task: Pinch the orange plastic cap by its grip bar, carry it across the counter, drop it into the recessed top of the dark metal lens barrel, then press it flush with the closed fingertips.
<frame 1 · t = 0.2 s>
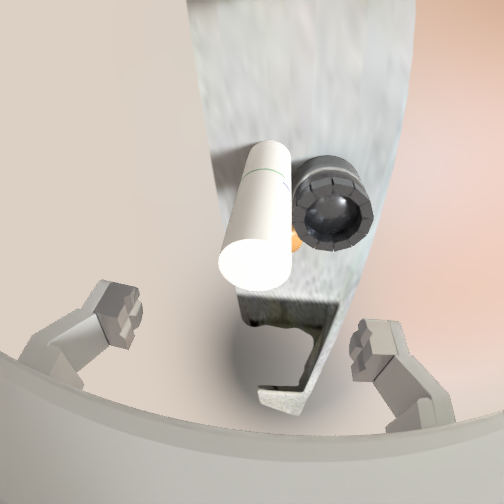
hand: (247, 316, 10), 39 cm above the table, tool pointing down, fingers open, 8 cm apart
cap: (285, 234, 57), on the table
cylindrical container: (269, 159, 47), on the table
barrel: (326, 186, 49), on the table
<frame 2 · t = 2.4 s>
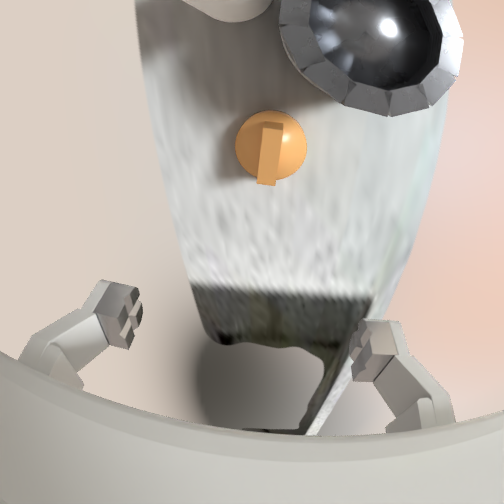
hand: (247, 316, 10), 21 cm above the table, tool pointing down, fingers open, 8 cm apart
cap: (271, 142, 27), on the table
barrel: (347, 36, 20), on the table
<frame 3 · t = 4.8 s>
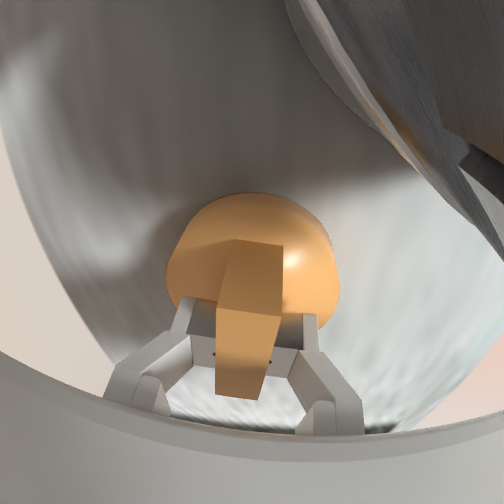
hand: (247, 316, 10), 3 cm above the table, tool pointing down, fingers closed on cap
cap: (255, 263, 13), on the table, touching gripper
barrel: (451, 10, 5), on the table
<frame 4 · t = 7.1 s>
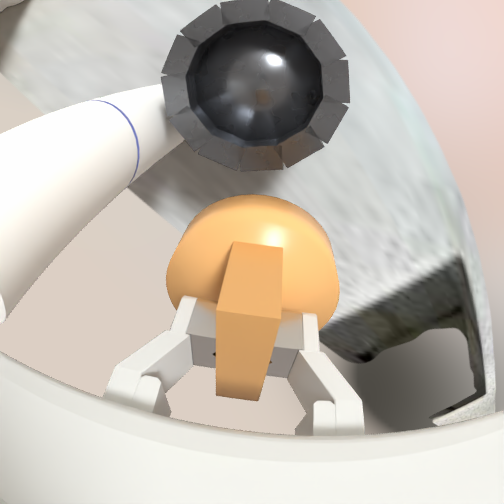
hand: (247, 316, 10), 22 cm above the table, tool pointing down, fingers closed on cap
cap: (255, 265, 13), point 19 cm above the table, touching gripper
cylindrical container: (163, 116, 27), on the table
barrel: (264, 80, 24), on the table
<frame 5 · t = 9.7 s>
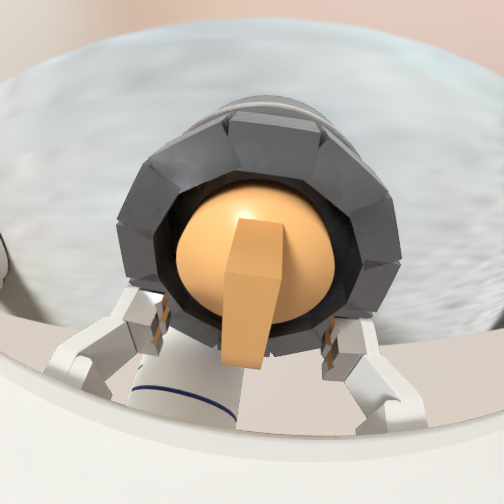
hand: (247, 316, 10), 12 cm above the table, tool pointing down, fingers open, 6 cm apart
cap: (257, 244, 14), point 8 cm above the table, touching barrel
cylindrical container: (215, 282, 27), on the table
barrel: (267, 179, 20), on the table
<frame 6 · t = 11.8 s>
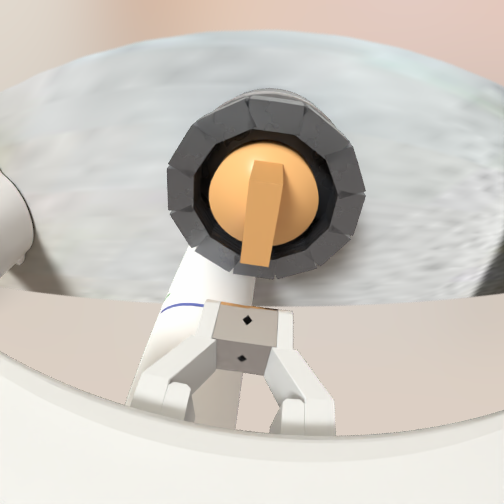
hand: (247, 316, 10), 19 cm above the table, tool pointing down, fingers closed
cap: (265, 187, 19), point 8 cm above the table, touching barrel
cylindrical container: (226, 241, 32), on the table
barrel: (270, 152, 25), on the table
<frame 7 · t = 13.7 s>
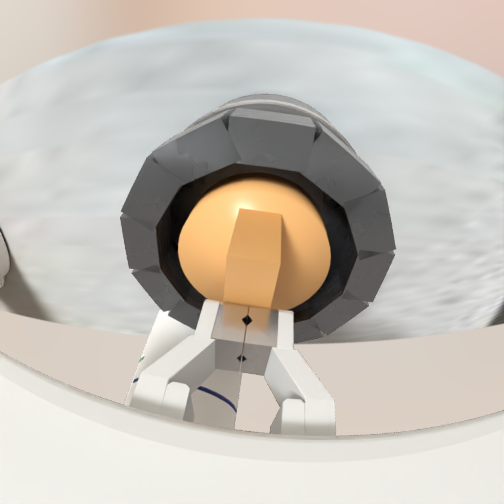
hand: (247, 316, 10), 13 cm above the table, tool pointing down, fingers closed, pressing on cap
cap: (256, 236, 14), point 8 cm above the table, touching barrel, gripper
cylindrical container: (215, 277, 27), on the table
barrel: (266, 176, 21), on the table
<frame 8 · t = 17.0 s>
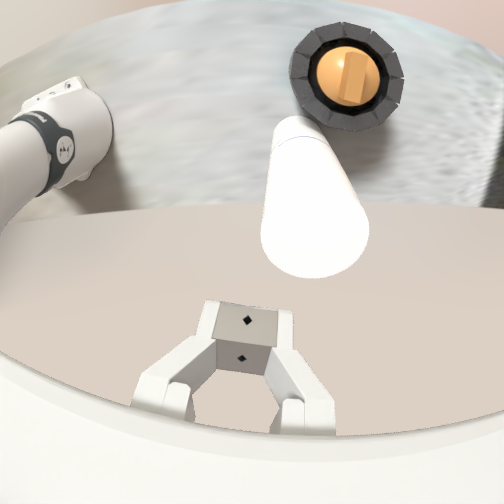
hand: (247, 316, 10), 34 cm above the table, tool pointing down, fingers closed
cap: (345, 75, 26), point 8 cm above the table, touching barrel
cylindrical container: (297, 139, 39), on the table
barrel: (333, 74, 32), on the table
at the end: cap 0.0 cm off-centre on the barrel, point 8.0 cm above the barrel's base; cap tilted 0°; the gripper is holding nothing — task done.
